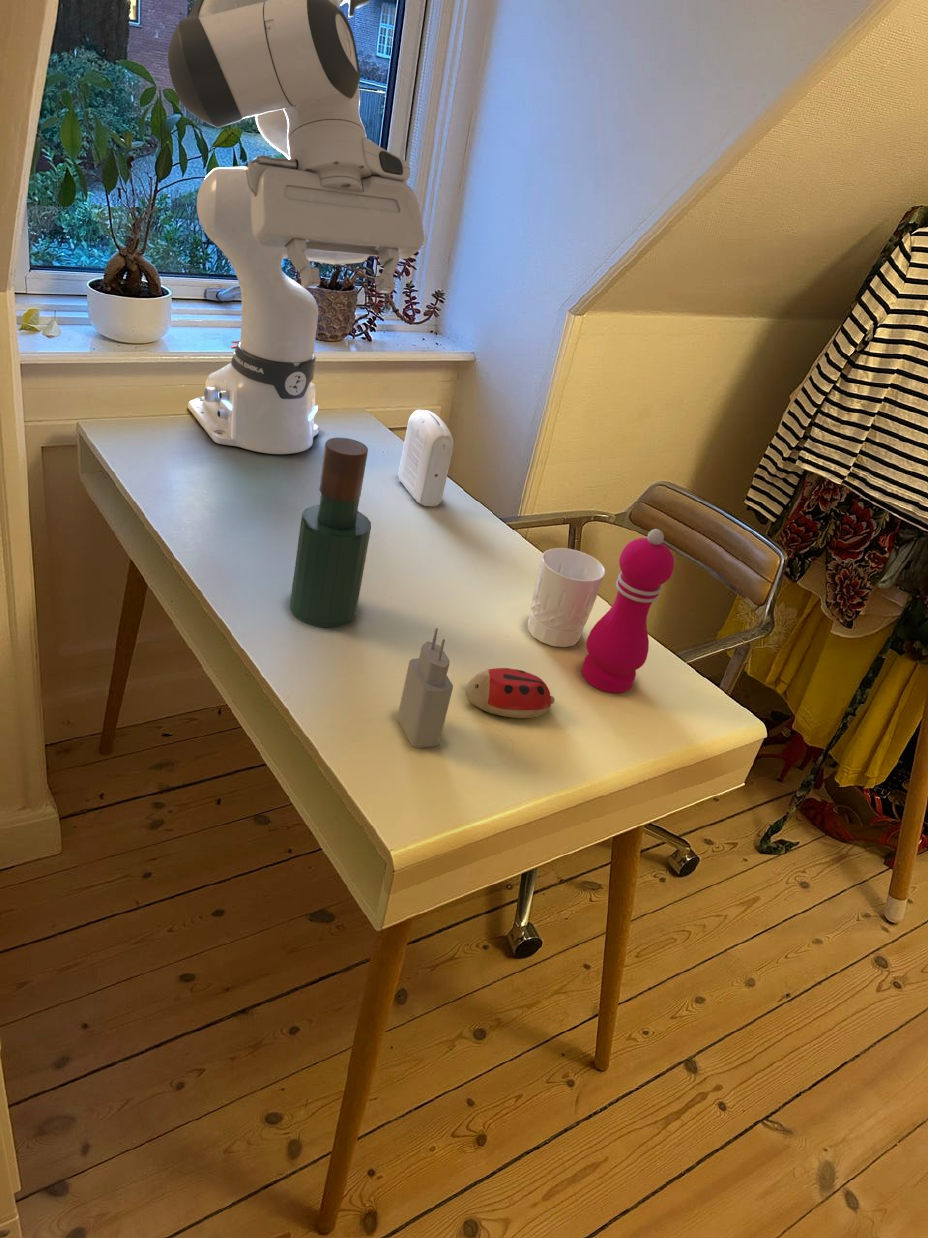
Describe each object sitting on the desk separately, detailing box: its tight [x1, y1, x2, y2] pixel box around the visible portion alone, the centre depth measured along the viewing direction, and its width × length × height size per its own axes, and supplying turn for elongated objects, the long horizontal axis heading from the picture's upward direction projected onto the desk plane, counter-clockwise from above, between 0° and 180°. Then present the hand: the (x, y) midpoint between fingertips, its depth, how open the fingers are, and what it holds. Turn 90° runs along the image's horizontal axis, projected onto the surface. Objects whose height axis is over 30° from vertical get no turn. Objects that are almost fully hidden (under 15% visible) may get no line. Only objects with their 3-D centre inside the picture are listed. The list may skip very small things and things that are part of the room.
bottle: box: [289, 493, 372, 629], centre depth 111 cm, size 8×8×16 cm
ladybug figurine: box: [464, 667, 555, 719], centre depth 106 cm, size 7×10×4 cm
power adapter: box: [397, 627, 454, 749], centre depth 97 cm, size 3×5×12 cm, turn 23°
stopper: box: [318, 437, 369, 502], centre depth 106 cm, size 5×5×8 cm
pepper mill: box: [581, 528, 675, 694], centre depth 110 cm, size 7×7×20 cm
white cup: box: [527, 547, 607, 648], centre depth 119 cm, size 8×8×10 cm
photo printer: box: [397, 409, 454, 507], centre depth 146 cm, size 10×4×12 cm, turn 25°
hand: (349, 288), depth 108 cm, fingers open, 8 cm apart
